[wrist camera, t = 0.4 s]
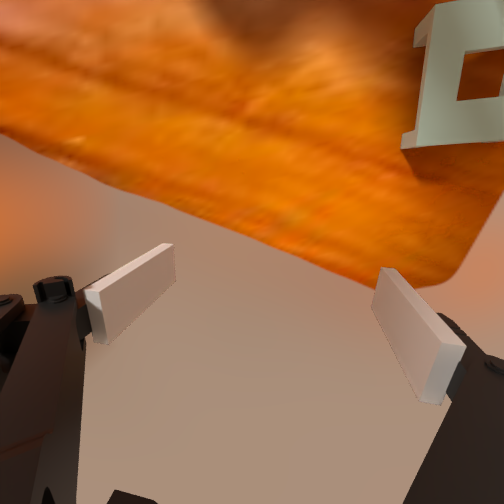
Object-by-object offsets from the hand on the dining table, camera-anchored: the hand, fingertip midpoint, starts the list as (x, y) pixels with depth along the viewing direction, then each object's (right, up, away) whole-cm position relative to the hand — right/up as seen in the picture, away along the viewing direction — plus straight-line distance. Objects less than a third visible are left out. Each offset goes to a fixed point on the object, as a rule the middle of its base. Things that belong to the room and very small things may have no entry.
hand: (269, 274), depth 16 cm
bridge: (+26, +23, +16) cm, 38 cm away
